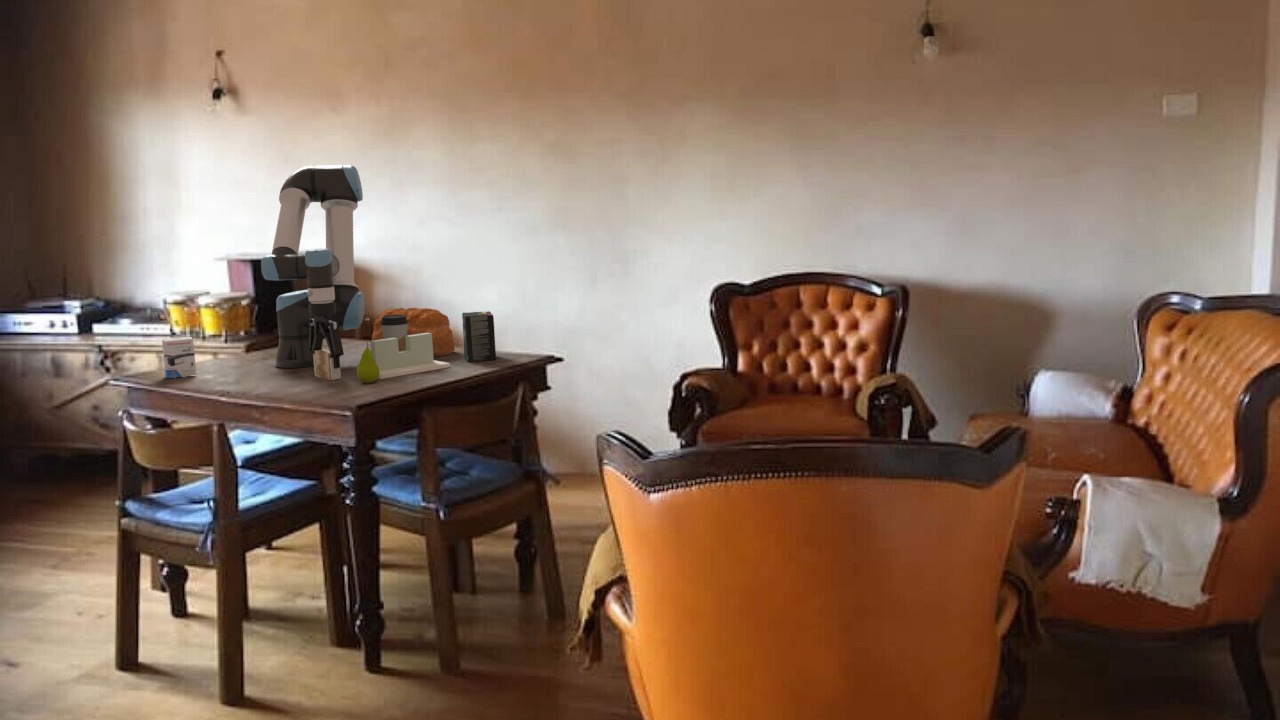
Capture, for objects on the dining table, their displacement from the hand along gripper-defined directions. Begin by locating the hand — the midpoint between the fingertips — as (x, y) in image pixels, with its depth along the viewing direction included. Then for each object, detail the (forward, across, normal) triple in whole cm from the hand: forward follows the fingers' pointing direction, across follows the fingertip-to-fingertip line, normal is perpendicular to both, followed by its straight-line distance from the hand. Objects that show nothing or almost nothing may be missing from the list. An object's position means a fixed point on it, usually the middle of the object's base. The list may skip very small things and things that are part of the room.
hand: (327, 376), depth 326 cm
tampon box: (0, +10, +48) cm, 49 cm away
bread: (0, -17, +40) cm, 44 cm away
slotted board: (0, +8, +21) cm, 23 cm away
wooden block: (0, 0, 0) cm, 0 cm away
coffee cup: (0, -4, +26) cm, 26 cm away
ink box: (0, -39, -28) cm, 48 cm away
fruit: (0, +17, +4) cm, 17 cm away
